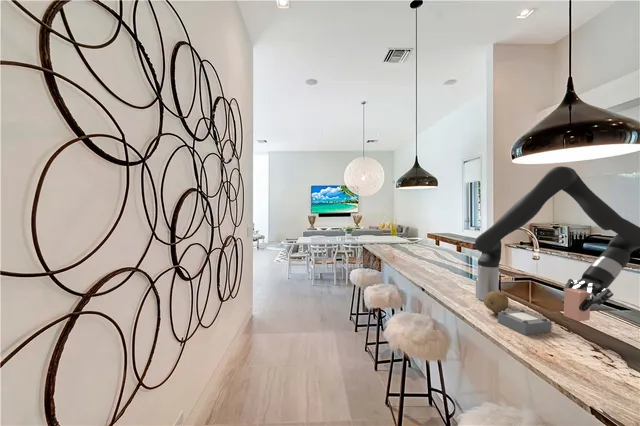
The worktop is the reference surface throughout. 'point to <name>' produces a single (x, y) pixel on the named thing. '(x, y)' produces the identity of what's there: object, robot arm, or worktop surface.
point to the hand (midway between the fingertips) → (572, 306)
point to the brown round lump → (496, 301)
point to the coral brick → (575, 304)
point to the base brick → (524, 322)
